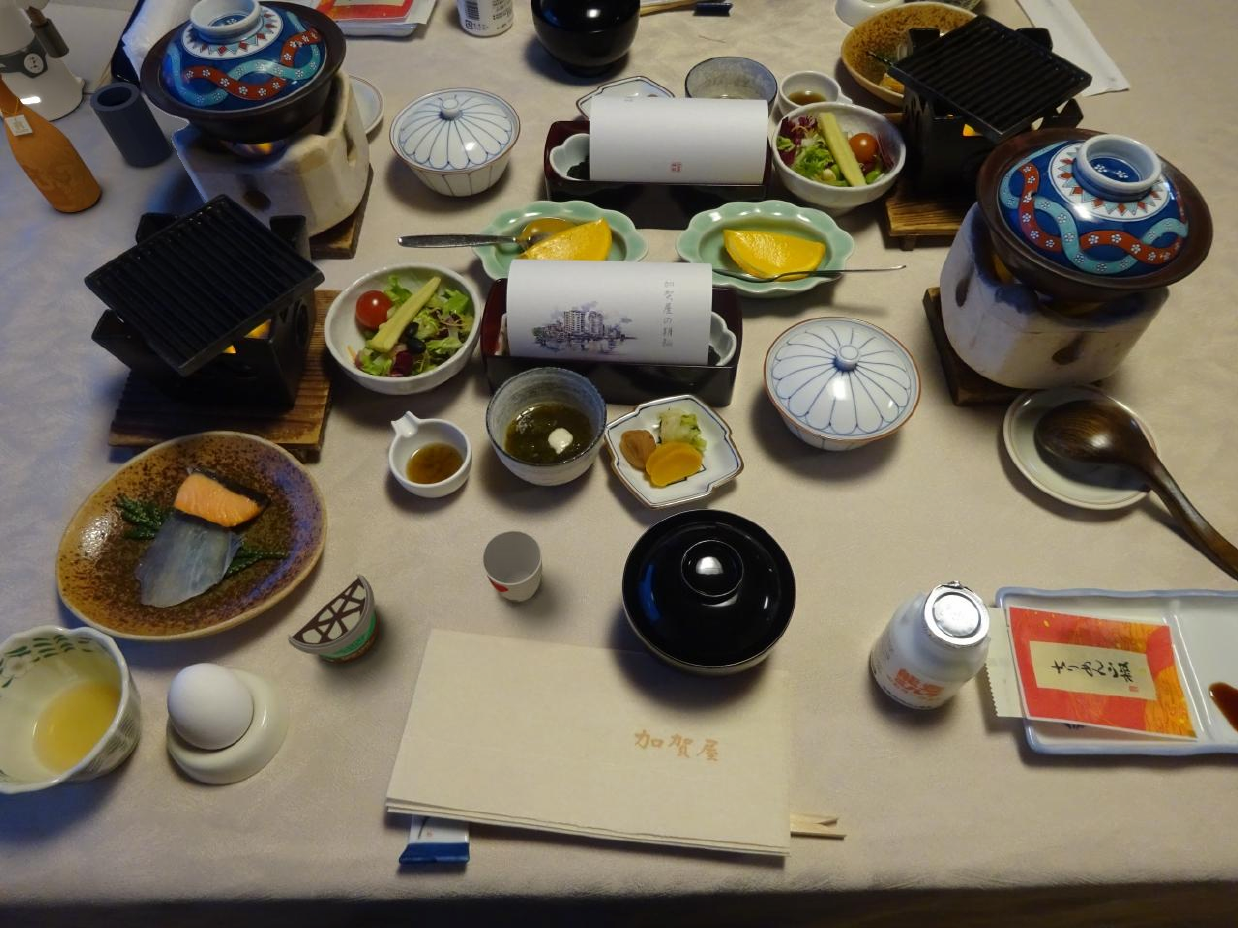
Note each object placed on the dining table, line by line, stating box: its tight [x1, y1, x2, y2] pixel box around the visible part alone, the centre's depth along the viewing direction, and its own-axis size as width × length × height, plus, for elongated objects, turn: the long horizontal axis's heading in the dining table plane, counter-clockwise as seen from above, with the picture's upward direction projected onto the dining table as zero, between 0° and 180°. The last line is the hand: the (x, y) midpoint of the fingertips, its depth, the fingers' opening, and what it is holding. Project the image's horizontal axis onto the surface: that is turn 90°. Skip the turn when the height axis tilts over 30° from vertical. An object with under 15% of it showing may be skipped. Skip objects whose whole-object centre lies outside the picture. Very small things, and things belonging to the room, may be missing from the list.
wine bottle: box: [0, 73, 101, 213], centre depth 145 cm, size 10×10×30 cm
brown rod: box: [23, 6, 70, 58], centre depth 128 cm, size 3×3×16 cm
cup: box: [481, 529, 543, 603], centre depth 111 cm, size 8×8×10 cm
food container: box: [287, 573, 380, 664], centre depth 106 cm, size 12×6×10 cm, turn 139°
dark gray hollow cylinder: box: [89, 82, 172, 169], centre depth 160 cm, size 9×9×13 cm
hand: (21, 0), depth 127 cm, fingers closed on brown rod, 2 cm apart
